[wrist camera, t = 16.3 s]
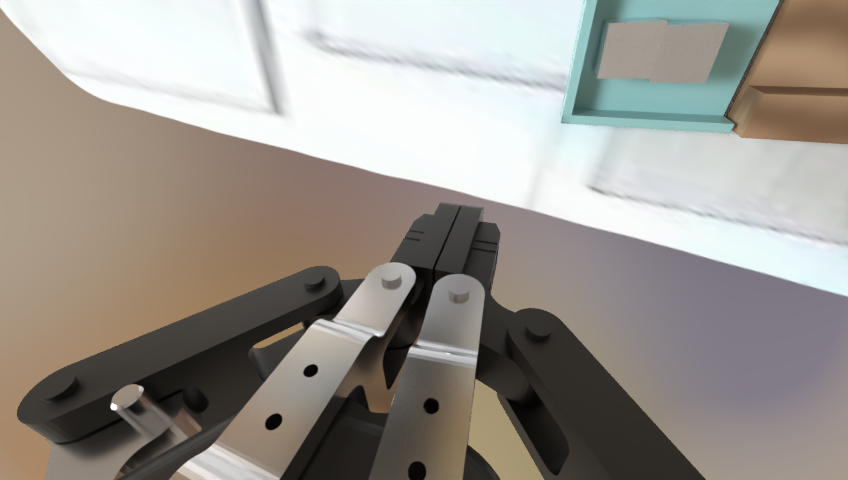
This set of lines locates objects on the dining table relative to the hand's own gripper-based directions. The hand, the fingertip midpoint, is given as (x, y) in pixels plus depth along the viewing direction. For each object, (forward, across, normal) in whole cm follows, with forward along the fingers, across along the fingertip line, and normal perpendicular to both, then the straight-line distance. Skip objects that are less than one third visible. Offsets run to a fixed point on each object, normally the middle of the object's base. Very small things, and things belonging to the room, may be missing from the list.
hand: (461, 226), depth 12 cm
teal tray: (+29, -12, -3) cm, 31 cm away
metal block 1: (+28, -8, -2) cm, 30 cm away
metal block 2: (+28, -12, -2) cm, 31 cm away
